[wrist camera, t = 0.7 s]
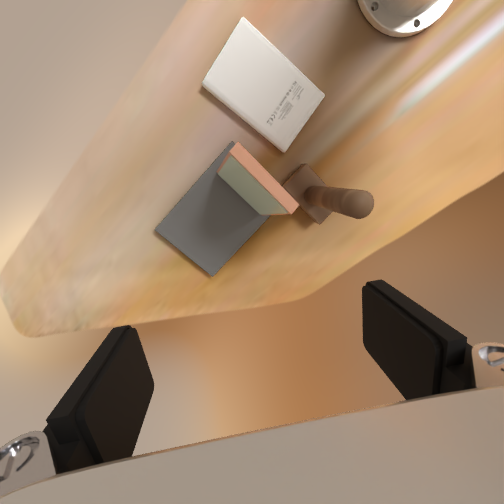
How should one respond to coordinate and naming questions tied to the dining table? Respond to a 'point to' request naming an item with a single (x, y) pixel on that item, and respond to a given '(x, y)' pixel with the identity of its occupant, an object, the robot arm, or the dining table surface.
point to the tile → (255, 183)
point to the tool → (326, 196)
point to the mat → (211, 220)
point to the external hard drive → (262, 86)
